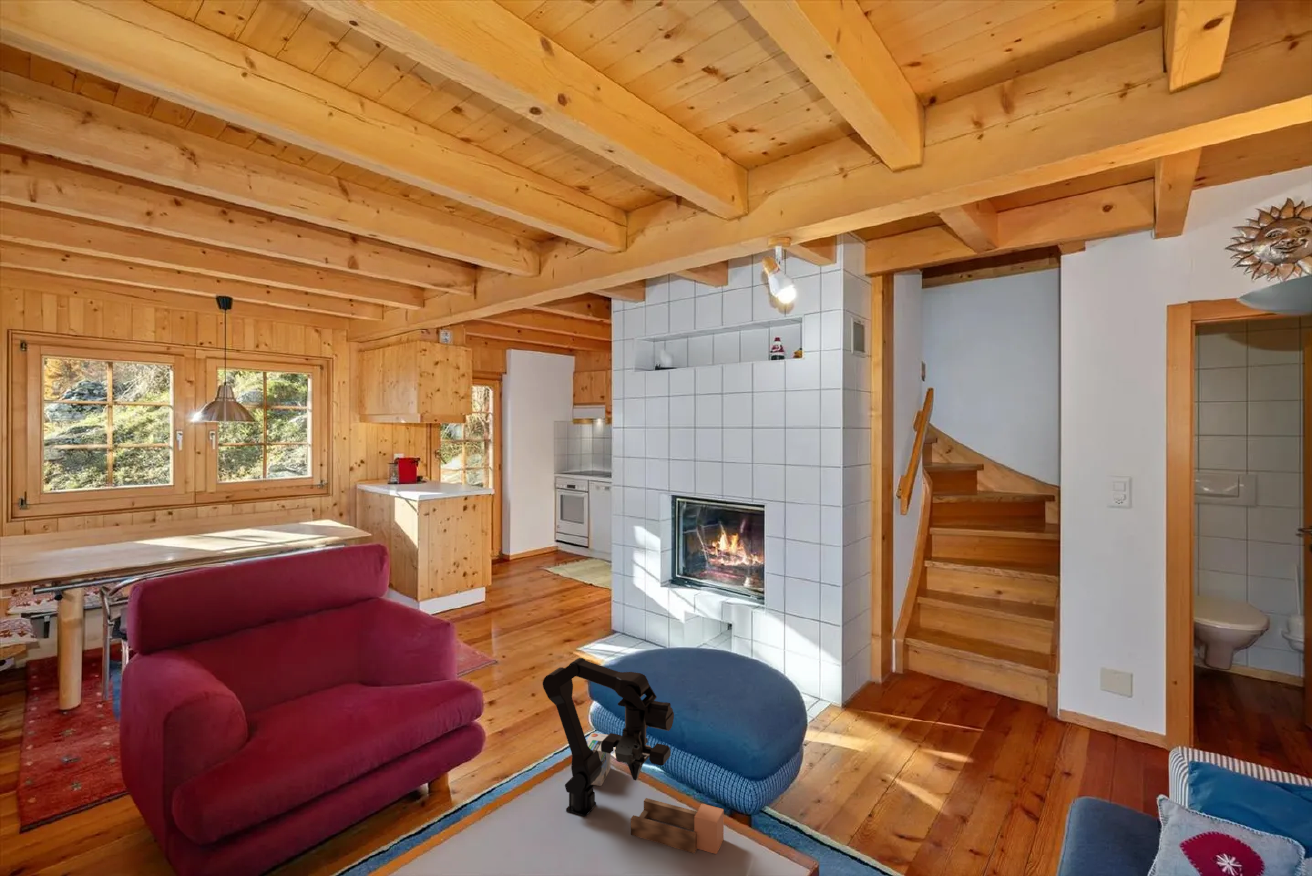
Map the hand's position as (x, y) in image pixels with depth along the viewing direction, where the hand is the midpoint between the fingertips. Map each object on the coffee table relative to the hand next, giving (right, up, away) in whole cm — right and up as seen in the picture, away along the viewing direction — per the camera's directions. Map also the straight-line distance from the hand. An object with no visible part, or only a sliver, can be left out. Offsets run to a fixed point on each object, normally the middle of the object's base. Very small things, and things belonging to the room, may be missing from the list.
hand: (635, 779), depth 164 cm
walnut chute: (+9, -12, -4) cm, 16 cm away
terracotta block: (+19, -12, -8) cm, 24 cm away
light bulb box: (-13, -12, +23) cm, 29 cm away
